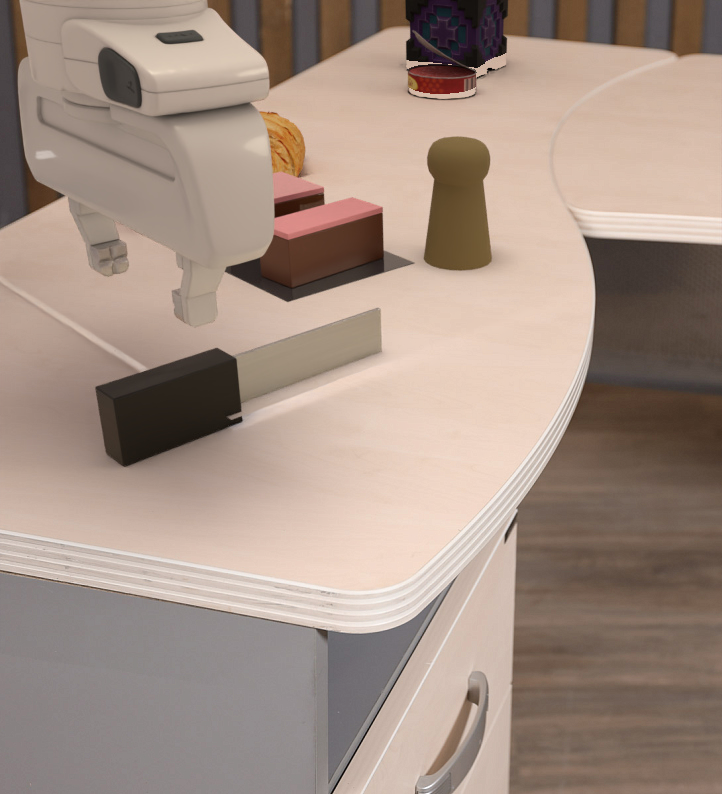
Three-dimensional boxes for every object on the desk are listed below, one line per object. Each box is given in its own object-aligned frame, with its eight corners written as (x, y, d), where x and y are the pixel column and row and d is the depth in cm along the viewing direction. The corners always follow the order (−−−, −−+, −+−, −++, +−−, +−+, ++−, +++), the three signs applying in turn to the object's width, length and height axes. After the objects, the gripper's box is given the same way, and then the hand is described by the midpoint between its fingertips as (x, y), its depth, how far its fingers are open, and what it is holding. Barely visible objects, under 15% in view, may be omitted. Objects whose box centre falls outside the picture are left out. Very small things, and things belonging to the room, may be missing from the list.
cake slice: (261, 276, 87) (256, 222, 85) (354, 247, 94) (352, 196, 92) (291, 288, 85) (287, 234, 83) (384, 257, 92) (383, 206, 90)
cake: (164, 250, 94) (157, 191, 92) (289, 220, 103) (285, 164, 100) (288, 311, 83) (283, 245, 81) (415, 271, 92) (414, 211, 89)
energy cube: (506, 65, 175) (508, -13, 170) (476, 78, 165) (478, -5, 160) (439, 58, 179) (439, -19, 174) (406, 70, 169) (405, -12, 163)
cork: (484, 282, 90) (487, 151, 85) (414, 275, 91) (413, 145, 86) (499, 258, 96) (502, 133, 90) (432, 251, 96) (432, 127, 91)
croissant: (250, 243, 106) (282, 175, 103) (157, 190, 105) (186, 120, 101) (315, 179, 125) (343, 120, 121) (236, 133, 123) (263, 72, 120)
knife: (370, 355, 77) (368, 297, 75) (391, 365, 76) (389, 307, 74) (105, 453, 64) (94, 386, 62) (124, 467, 62) (113, 399, 60)
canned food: (420, 117, 161) (425, 50, 161) (484, 116, 158) (489, 48, 159) (390, 93, 150) (395, 22, 150) (458, 92, 148) (463, 20, 148)
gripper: (-30, 17, 59) (14, 256, 65) (169, 86, 47) (198, 371, 53) (81, 9, 63) (112, 235, 70) (290, 70, 51) (304, 336, 58)
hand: (151, 295), depth 61 cm, fingers open, 8 cm apart
